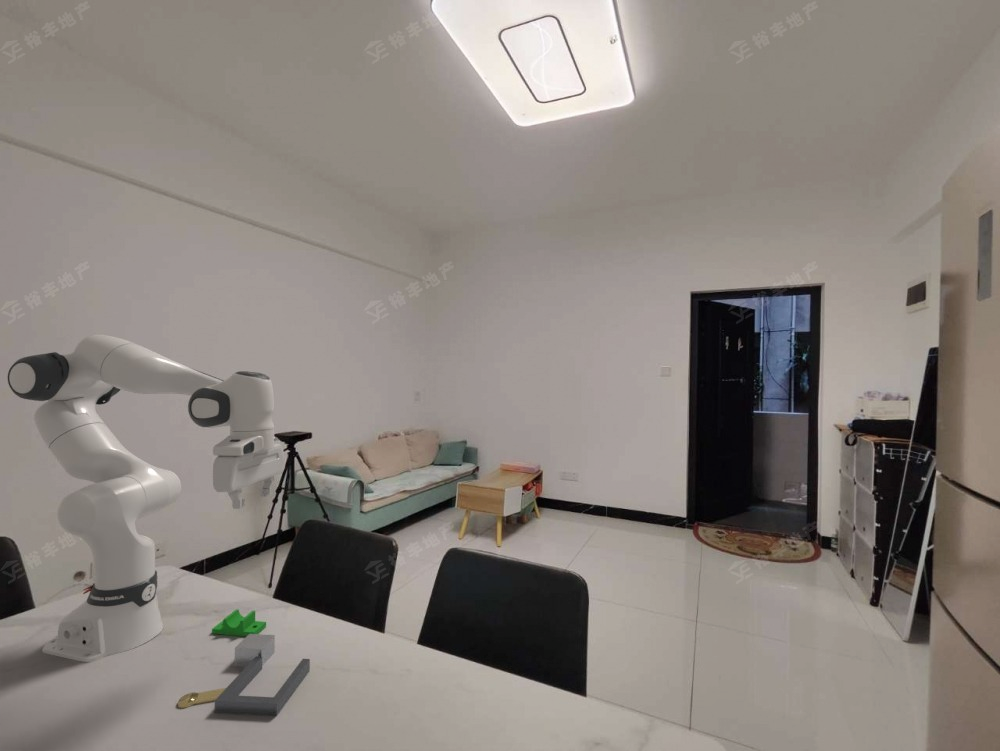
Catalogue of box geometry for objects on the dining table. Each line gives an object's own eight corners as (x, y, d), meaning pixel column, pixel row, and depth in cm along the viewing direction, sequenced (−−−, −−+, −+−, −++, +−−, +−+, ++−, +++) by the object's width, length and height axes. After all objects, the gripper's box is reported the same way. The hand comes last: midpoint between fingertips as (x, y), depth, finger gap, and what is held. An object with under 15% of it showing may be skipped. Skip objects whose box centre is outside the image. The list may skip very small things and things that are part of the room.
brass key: (175, 712, 82) (175, 706, 82) (182, 700, 85) (182, 694, 85) (222, 704, 84) (222, 697, 84) (227, 692, 87) (227, 686, 87)
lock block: (234, 668, 94) (234, 647, 94) (249, 653, 99) (249, 633, 99) (261, 669, 94) (261, 649, 94) (274, 654, 99) (274, 635, 99)
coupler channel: (214, 716, 81) (214, 700, 81) (255, 670, 93) (255, 656, 93) (276, 719, 80) (276, 703, 80) (309, 672, 93) (309, 658, 93)
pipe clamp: (266, 611, 109) (254, 621, 105) (266, 626, 109) (254, 637, 105) (225, 608, 110) (211, 618, 106) (225, 623, 110) (211, 633, 106)
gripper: (268, 435, 110) (268, 489, 110) (206, 449, 90) (206, 515, 90) (291, 435, 110) (291, 489, 110) (234, 449, 89) (235, 516, 89)
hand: (252, 501), depth 100 cm, fingers open, 8 cm apart
